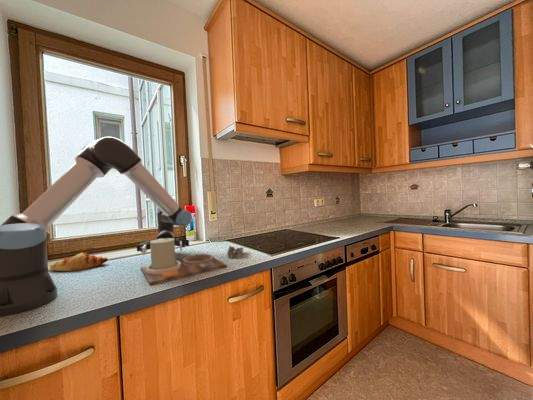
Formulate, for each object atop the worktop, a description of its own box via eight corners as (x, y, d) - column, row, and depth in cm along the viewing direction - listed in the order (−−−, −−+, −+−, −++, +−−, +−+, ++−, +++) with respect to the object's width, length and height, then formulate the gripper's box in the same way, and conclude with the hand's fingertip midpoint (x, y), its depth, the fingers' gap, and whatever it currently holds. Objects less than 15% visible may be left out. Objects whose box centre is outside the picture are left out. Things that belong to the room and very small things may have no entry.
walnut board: (150, 285, 80) (149, 278, 80) (140, 269, 97) (140, 263, 97) (226, 266, 97) (226, 260, 97) (207, 256, 114) (206, 251, 114)
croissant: (47, 281, 97) (40, 267, 93) (56, 264, 105) (50, 250, 101) (106, 272, 104) (103, 259, 100) (111, 257, 112) (108, 244, 108)
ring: (152, 280, 81) (152, 276, 81) (144, 268, 96) (144, 264, 96) (188, 272, 89) (188, 268, 89) (175, 261, 103) (175, 258, 103)
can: (179, 264, 99) (177, 236, 99) (171, 271, 90) (169, 241, 90) (157, 265, 99) (156, 237, 99) (146, 272, 90) (145, 242, 89)
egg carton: (229, 253, 120) (229, 245, 120) (244, 252, 120) (244, 244, 120) (226, 259, 109) (225, 250, 109) (242, 258, 109) (241, 250, 109)
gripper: (193, 244, 116) (196, 254, 96) (136, 250, 107) (126, 263, 87) (192, 229, 115) (195, 236, 95) (135, 234, 106) (125, 243, 87)
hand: (162, 249), depth 91 cm, fingers open, 13 cm apart
